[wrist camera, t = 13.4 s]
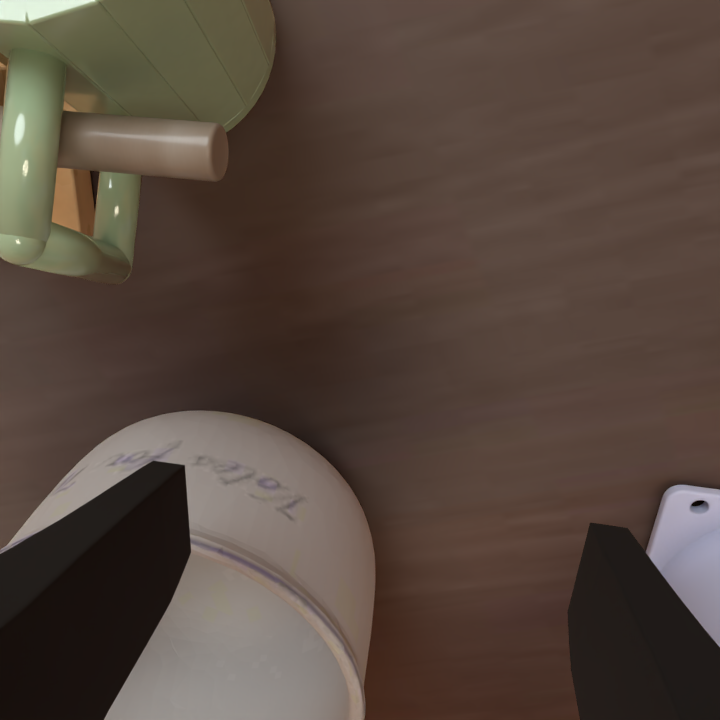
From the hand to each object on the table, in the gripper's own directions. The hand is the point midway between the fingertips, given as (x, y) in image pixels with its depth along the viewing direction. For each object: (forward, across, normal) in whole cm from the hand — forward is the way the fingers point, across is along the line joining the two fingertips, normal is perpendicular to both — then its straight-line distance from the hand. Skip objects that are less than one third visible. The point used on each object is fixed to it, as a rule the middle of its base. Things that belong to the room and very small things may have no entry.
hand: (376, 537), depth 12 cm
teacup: (+10, +7, +8) cm, 14 cm away
